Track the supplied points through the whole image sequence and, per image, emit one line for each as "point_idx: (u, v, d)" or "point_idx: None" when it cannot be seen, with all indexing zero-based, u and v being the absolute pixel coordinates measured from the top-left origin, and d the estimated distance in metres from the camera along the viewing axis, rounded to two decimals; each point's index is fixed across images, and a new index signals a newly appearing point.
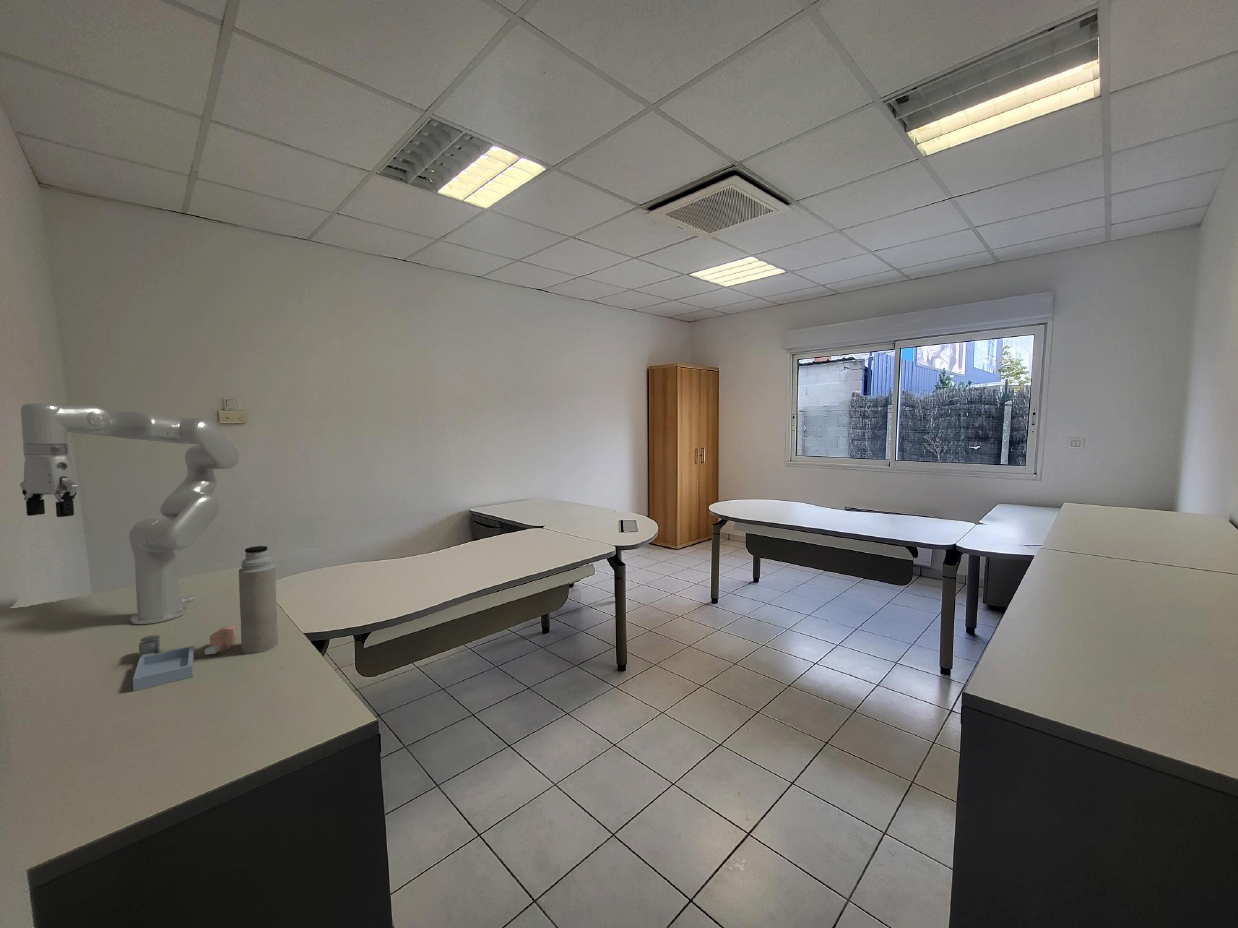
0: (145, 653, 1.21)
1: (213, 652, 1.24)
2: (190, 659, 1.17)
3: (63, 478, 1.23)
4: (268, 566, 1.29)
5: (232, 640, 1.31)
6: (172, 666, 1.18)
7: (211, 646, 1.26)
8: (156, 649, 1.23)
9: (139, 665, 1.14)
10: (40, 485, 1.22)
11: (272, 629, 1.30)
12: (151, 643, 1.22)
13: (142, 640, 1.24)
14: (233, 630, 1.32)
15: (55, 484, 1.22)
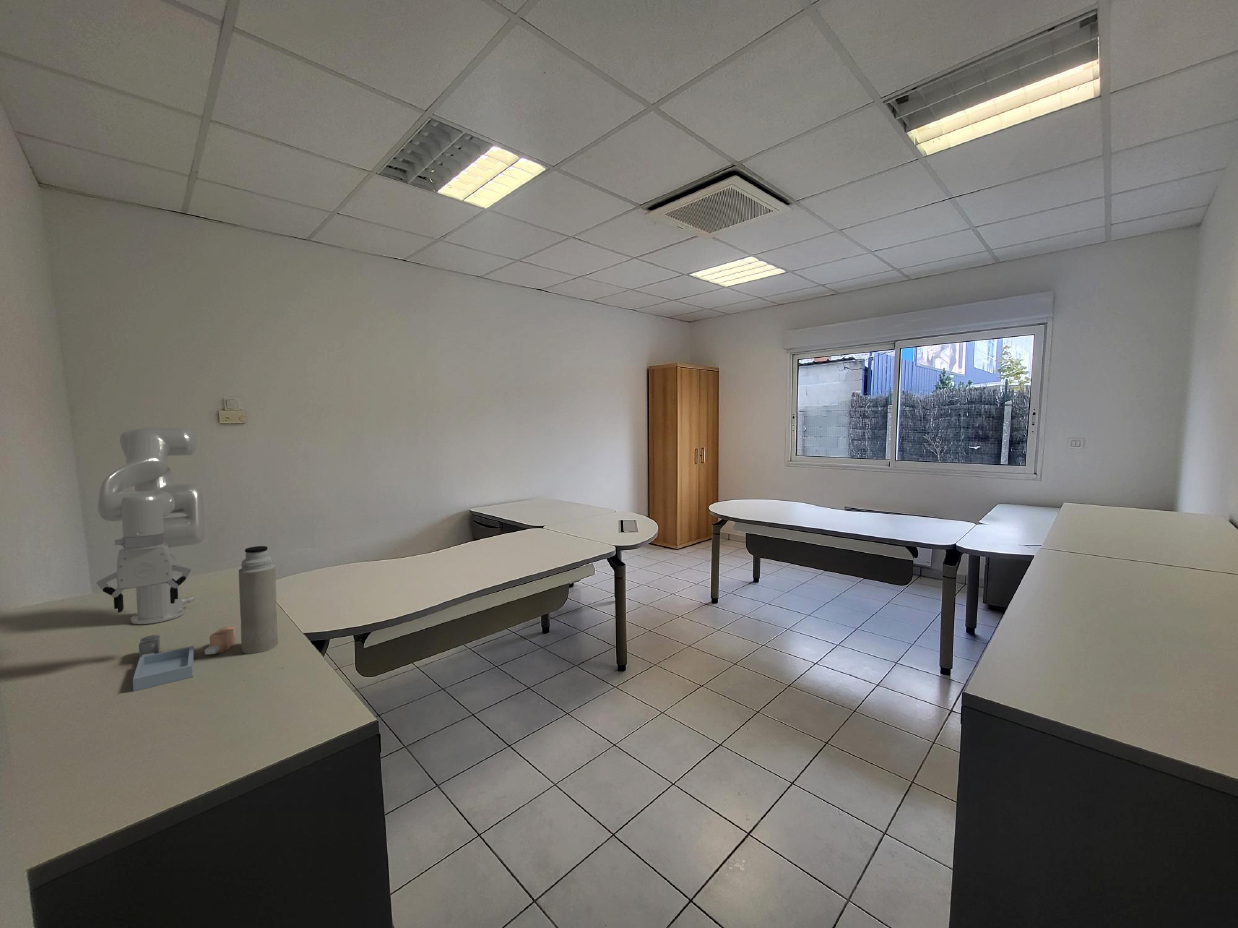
0: (145, 653, 1.21)
1: (213, 652, 1.24)
2: (190, 659, 1.17)
3: (115, 572, 1.19)
4: (268, 566, 1.29)
5: (232, 640, 1.31)
6: (172, 666, 1.18)
7: (211, 646, 1.26)
8: (156, 649, 1.23)
9: (139, 665, 1.14)
10: None
11: (272, 629, 1.30)
12: (151, 643, 1.22)
13: (142, 640, 1.24)
14: (233, 630, 1.32)
15: None
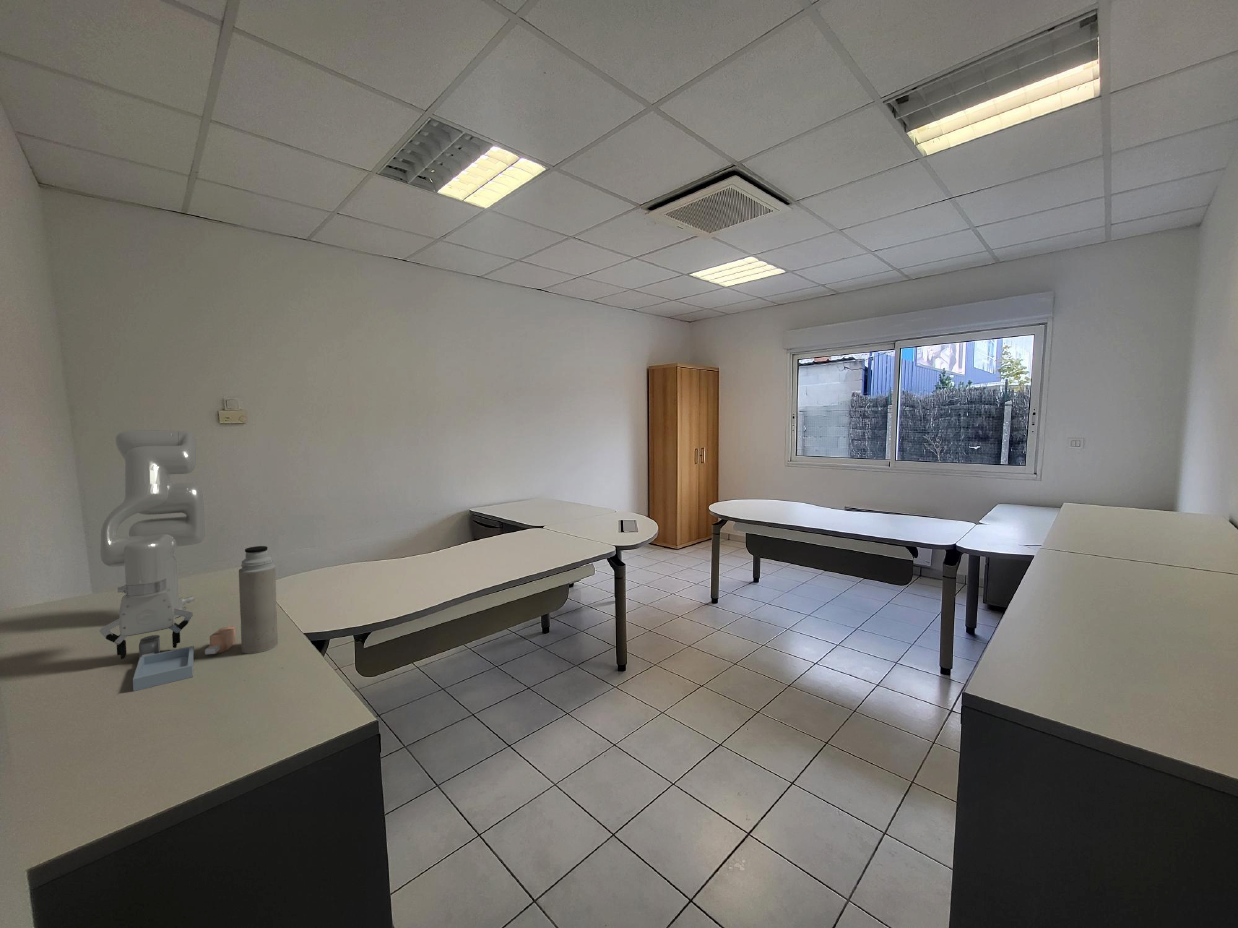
0: (145, 653, 1.21)
1: (213, 652, 1.24)
2: (190, 659, 1.17)
3: (118, 619, 1.20)
4: (268, 566, 1.29)
5: (232, 640, 1.31)
6: (172, 666, 1.18)
7: (211, 646, 1.26)
8: (156, 649, 1.23)
9: (139, 665, 1.14)
10: None
11: (272, 629, 1.30)
12: (151, 643, 1.22)
13: (142, 640, 1.24)
14: (233, 630, 1.32)
15: None
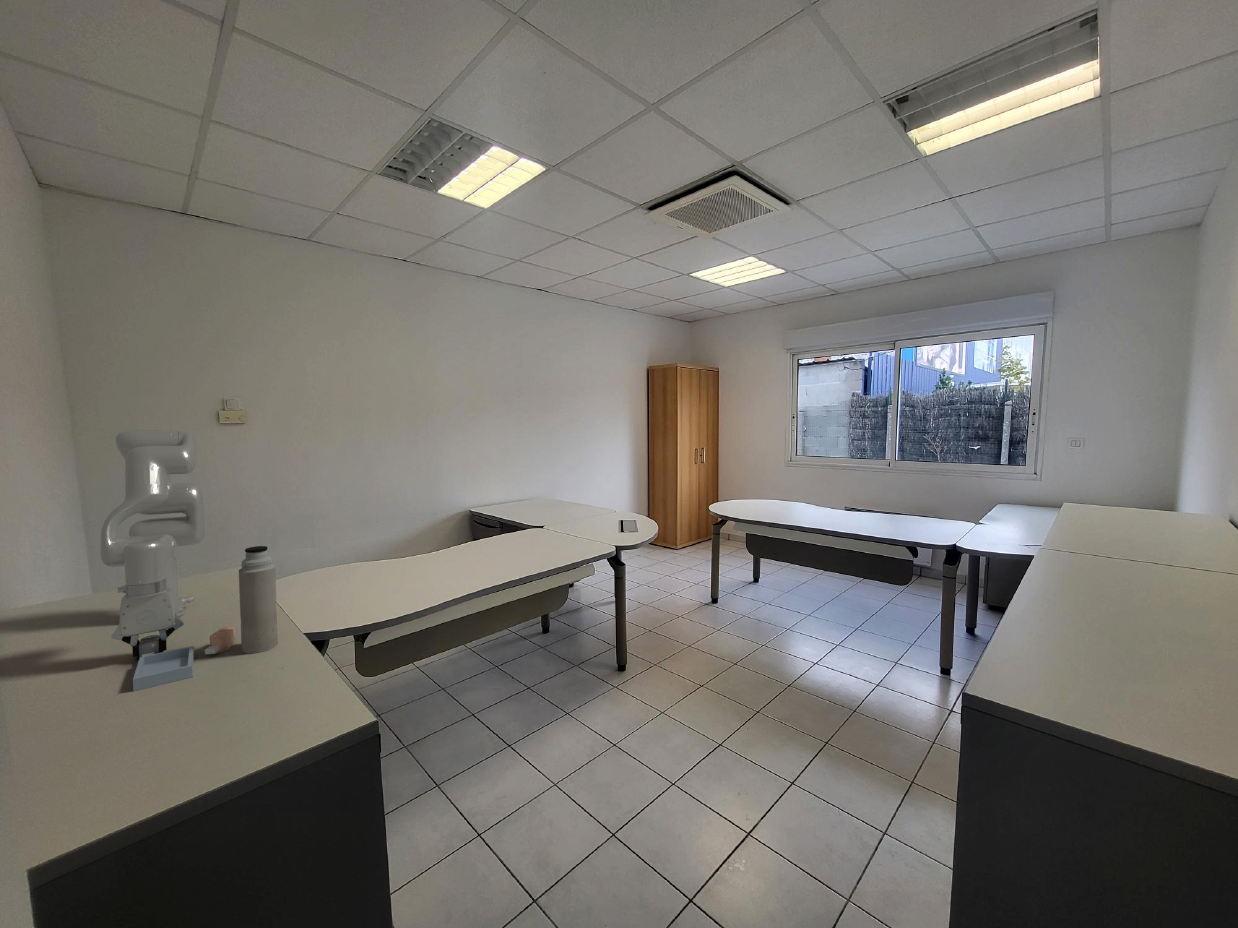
0: (145, 653, 1.21)
1: (213, 652, 1.24)
2: (190, 659, 1.17)
3: None
4: (268, 566, 1.29)
5: (232, 640, 1.31)
6: (172, 666, 1.18)
7: (211, 646, 1.26)
8: (156, 649, 1.23)
9: (139, 665, 1.14)
10: None
11: (272, 629, 1.30)
12: (151, 642, 1.22)
13: (142, 640, 1.24)
14: (233, 630, 1.32)
15: None
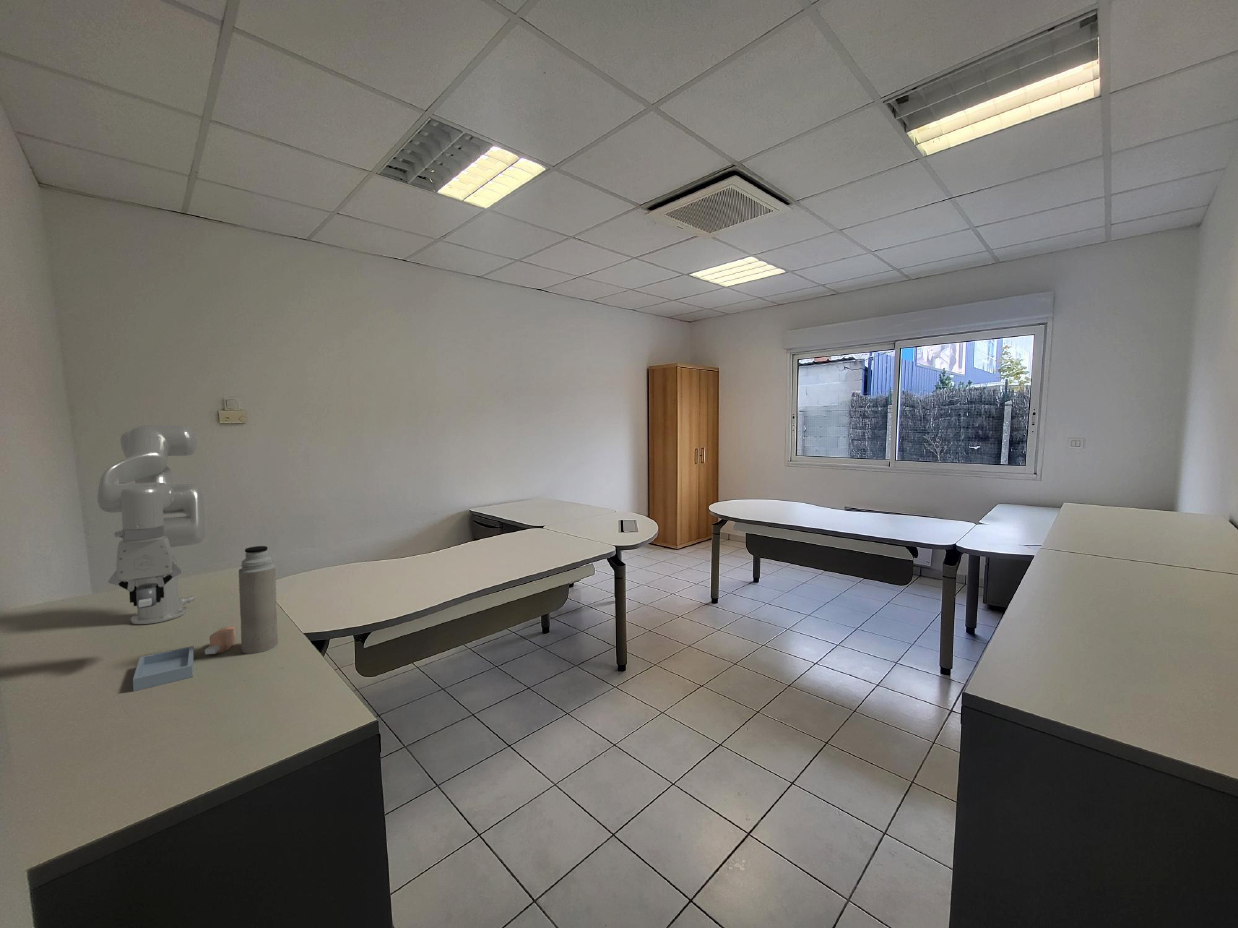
0: (142, 598, 1.20)
1: (213, 652, 1.24)
2: (190, 659, 1.17)
3: None
4: (268, 566, 1.29)
5: (232, 640, 1.31)
6: (172, 666, 1.18)
7: (211, 646, 1.26)
8: (153, 595, 1.22)
9: (139, 665, 1.14)
10: None
11: (272, 629, 1.30)
12: (148, 588, 1.22)
13: (139, 586, 1.23)
14: (233, 630, 1.32)
15: None
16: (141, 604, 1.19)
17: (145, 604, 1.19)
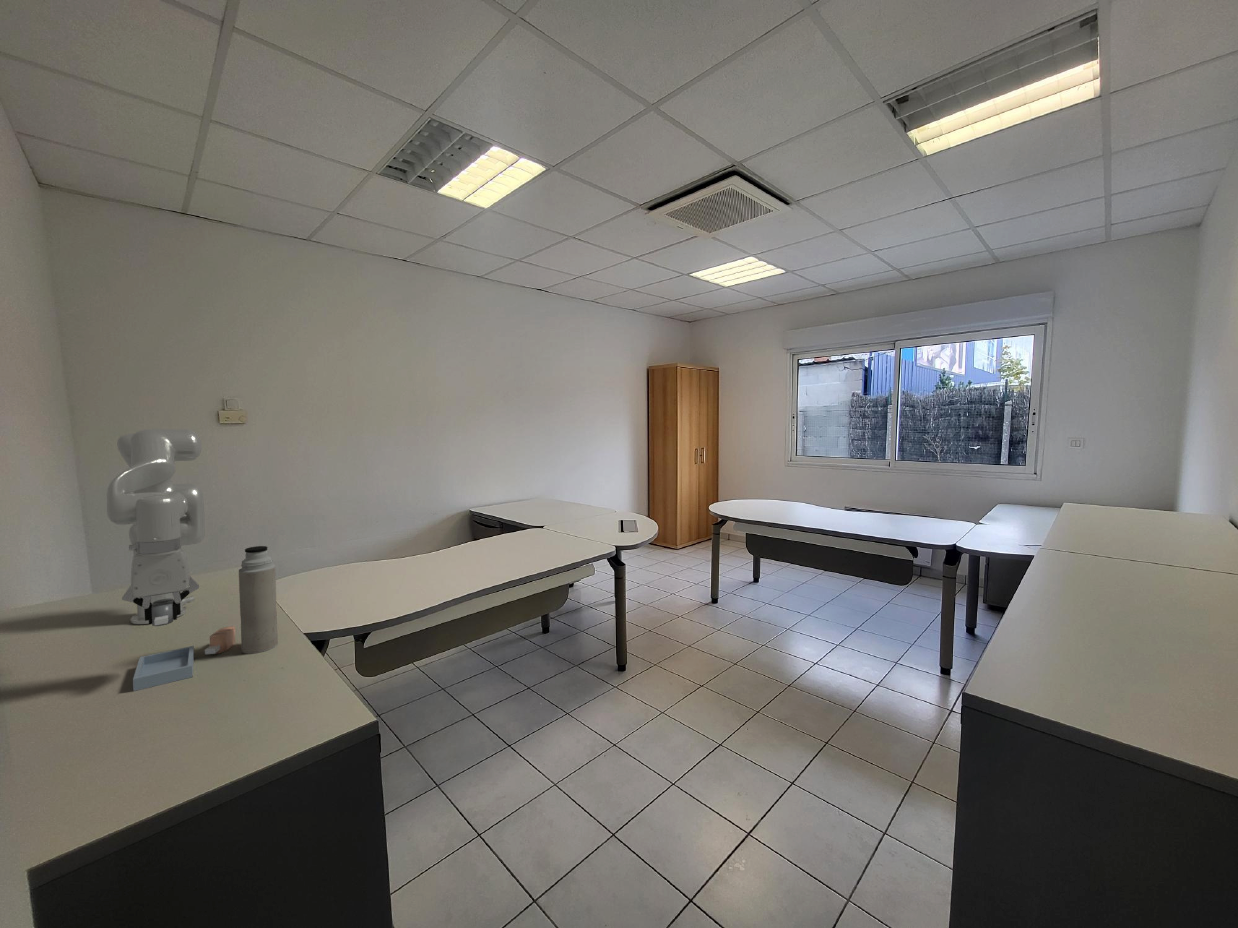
0: (158, 616, 1.12)
1: (213, 652, 1.24)
2: (190, 659, 1.17)
3: None
4: (268, 566, 1.29)
5: (232, 640, 1.31)
6: (172, 666, 1.18)
7: (211, 646, 1.26)
8: (170, 612, 1.14)
9: (139, 665, 1.14)
10: None
11: (272, 629, 1.30)
12: (165, 605, 1.14)
13: (155, 603, 1.15)
14: (233, 630, 1.32)
15: None
16: (157, 622, 1.10)
17: (161, 622, 1.11)
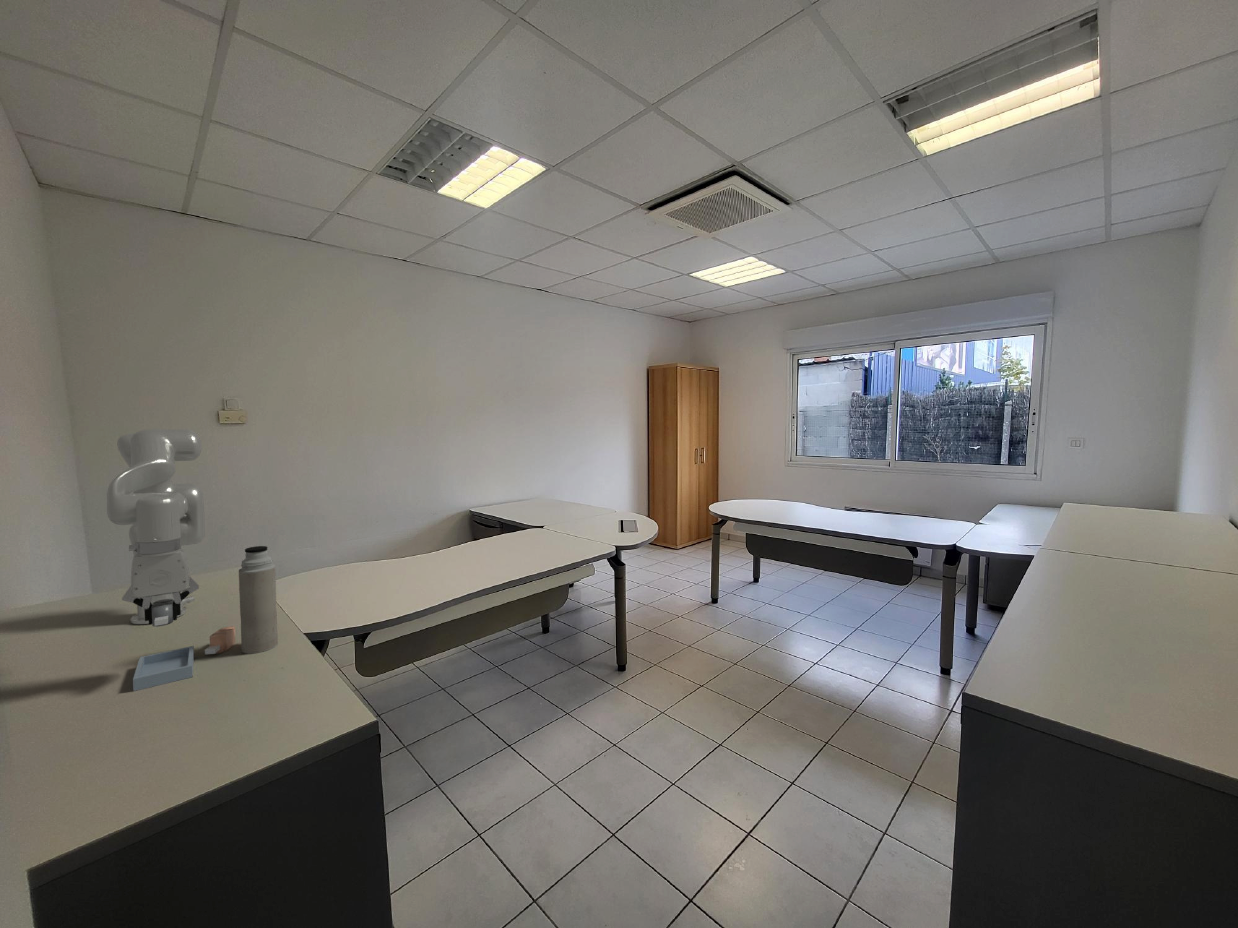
0: (158, 616, 1.12)
1: (213, 652, 1.24)
2: (190, 659, 1.17)
3: None
4: (268, 566, 1.29)
5: (232, 640, 1.31)
6: (172, 666, 1.18)
7: (211, 646, 1.26)
8: (170, 612, 1.14)
9: (139, 665, 1.14)
10: None
11: (272, 629, 1.30)
12: (165, 605, 1.14)
13: (155, 603, 1.15)
14: (233, 630, 1.32)
15: None
16: (157, 622, 1.10)
17: (161, 622, 1.11)
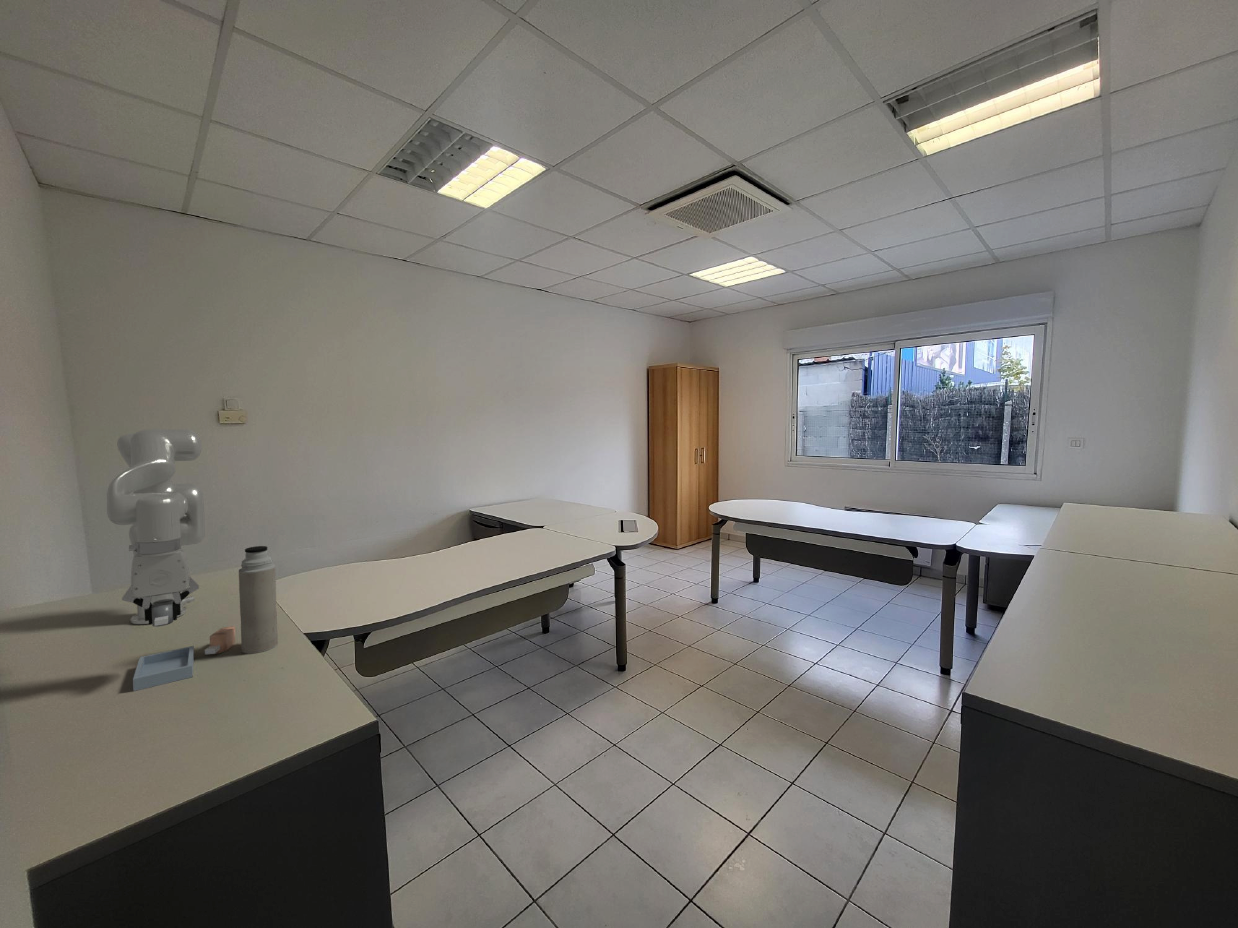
0: (158, 616, 1.12)
1: (213, 652, 1.24)
2: (190, 659, 1.17)
3: None
4: (268, 566, 1.29)
5: (232, 640, 1.31)
6: (172, 666, 1.18)
7: (211, 646, 1.26)
8: (170, 612, 1.14)
9: (139, 665, 1.14)
10: None
11: (272, 629, 1.30)
12: (165, 605, 1.14)
13: (155, 603, 1.15)
14: (233, 630, 1.32)
15: None
16: (157, 622, 1.10)
17: (161, 622, 1.11)
